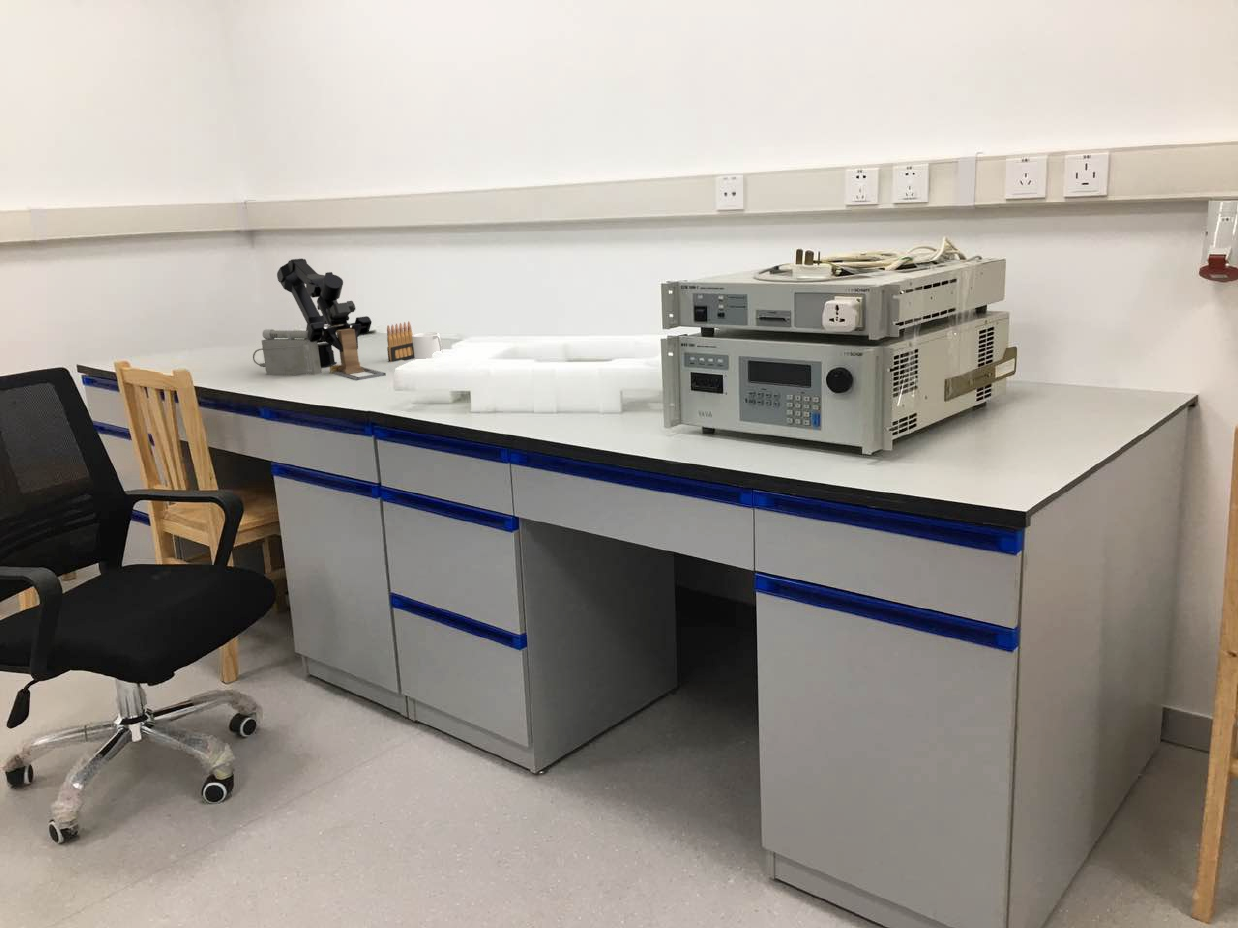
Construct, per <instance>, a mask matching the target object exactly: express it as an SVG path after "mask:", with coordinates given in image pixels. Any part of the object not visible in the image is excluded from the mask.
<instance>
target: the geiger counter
mask: <svg viewBox="0 0 1238 928" xmlns="http://www.w3.org/2000/svg"><path fill="white" fill-rule="evenodd" d="M261 333H262V337H263V339H261V346H262V348H257V349H256V350H255V351H254V352H253V354H252V361H253V362H254V364H256V365H258V366H259V367H262V368H265V372H266V373H265V374H266V376H267V375H268V376H293V377H294V376H296V377H297V376H304V375H305V376H306V375H318V374H319V375H320V374H321V373H322V372H323V371H322V367H321V365H320V357H319V350H318V344H319V343H317V341H315V342H311V341H310V340H309V338H308V331H306V330H280V329H279V330H278V329H277V330H275V329H272V328H271V329H270V328H269V329H267V328H265V329H264V330H263V331H262V332H261ZM304 338H308V339H304ZM258 351H262V352H263V360H264V362H263V363H261V362H260V363H259V362H257V361H256V360H255V355H256V353H257V352H258Z"/></svg>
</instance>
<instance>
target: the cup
mask: <svg viewBox="0 0 1238 928" xmlns="http://www.w3.org/2000/svg"><path fill="white" fill-rule="evenodd" d="M412 340H413V348H414V357H415V358H414V360H415V359H426V358H431V357H432V354H433V353H434V352H436V351H441V350H442V351H443V345H442V344H443V343H442V339H441V333H439V332H421V333H416V334H415V333H414V334H413V335H412Z"/></svg>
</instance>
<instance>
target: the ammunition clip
mask: <svg viewBox="0 0 1238 928" xmlns="http://www.w3.org/2000/svg"><path fill="white" fill-rule="evenodd" d="M412 329H413V328H412V326H411V322H410V321H408V322H407V323H406V322H405V321H404V322H403V324H402V323H401V322H400V323H399V326H398V323H395V325H393V324H391V327H390V326H389V325H387V327H386V336H387V337H386V338H387V340H386V341H387V348H386V349H387V359H388V362H390V363H394V362H398V361H404V362H405V361H409V360H415V357H414V348H413V340H412V335H414V333H413V331H412Z"/></svg>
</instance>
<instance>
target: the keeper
mask: <svg viewBox="0 0 1238 928" xmlns="http://www.w3.org/2000/svg"><path fill="white" fill-rule="evenodd" d="M336 335H337V337H338V339H339V341H340V343H341V345H342V347H343V352H341V351H339V350H338V351H339V357H340V358H339V359H340V365H341V366H342V367H340V368H338V371H339V372H343V373H346V374H350V375H353V374H359V373H364V372H365V371H364V369H363V367H364V366H362V365H360V366H359V362H360V361H359V354H358V353H359V352H358V350H357V344H356V337H355V329H343V330H337V333H336Z"/></svg>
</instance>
